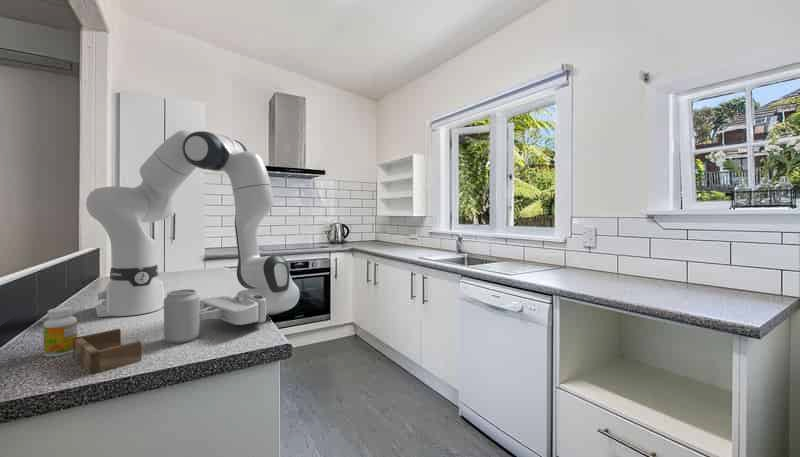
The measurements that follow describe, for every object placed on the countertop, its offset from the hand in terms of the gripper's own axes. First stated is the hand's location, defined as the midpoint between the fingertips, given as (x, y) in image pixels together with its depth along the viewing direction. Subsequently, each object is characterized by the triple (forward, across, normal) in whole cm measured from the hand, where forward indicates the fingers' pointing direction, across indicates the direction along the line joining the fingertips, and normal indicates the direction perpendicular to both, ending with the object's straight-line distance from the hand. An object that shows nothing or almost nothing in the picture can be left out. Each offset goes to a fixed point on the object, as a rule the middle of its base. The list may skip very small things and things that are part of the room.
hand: (197, 315), depth 89 cm
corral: (+18, 0, +5) cm, 19 cm away
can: (+4, 0, +5) cm, 6 cm away
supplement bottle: (+23, -12, +5) cm, 27 cm away
